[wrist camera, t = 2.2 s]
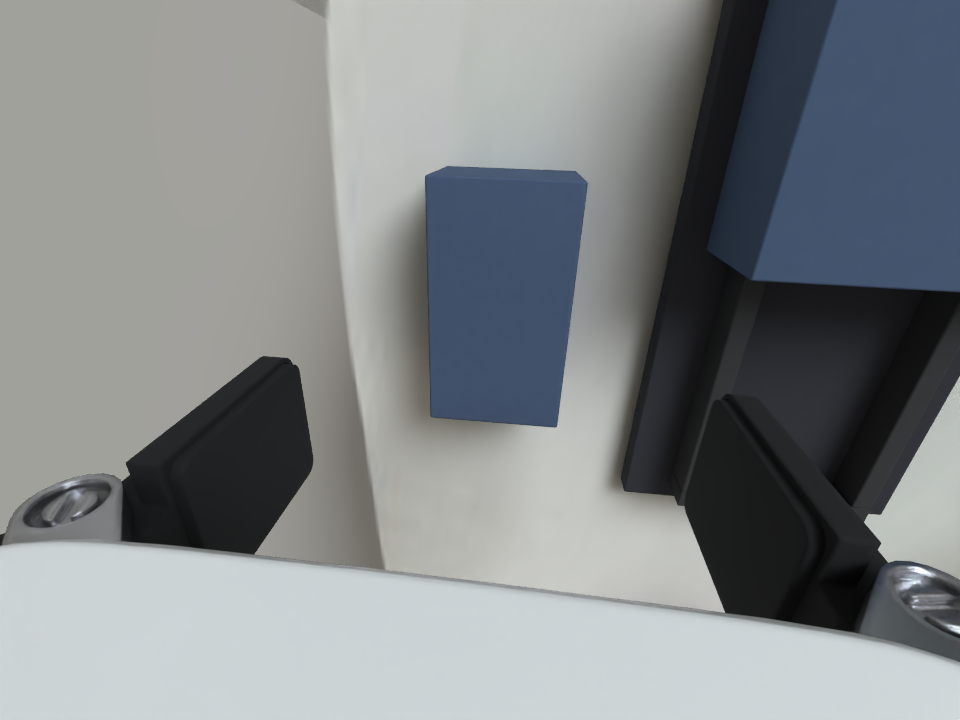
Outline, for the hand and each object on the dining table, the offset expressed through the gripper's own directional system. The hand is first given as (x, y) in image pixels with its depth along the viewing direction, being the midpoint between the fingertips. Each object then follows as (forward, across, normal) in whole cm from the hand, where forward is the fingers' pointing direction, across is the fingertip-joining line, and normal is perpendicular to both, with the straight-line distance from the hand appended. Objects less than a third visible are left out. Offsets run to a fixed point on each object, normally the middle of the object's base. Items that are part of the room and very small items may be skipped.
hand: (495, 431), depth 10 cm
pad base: (+10, -12, -2) cm, 16 cm away
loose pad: (+10, 0, 0) cm, 10 cm away
